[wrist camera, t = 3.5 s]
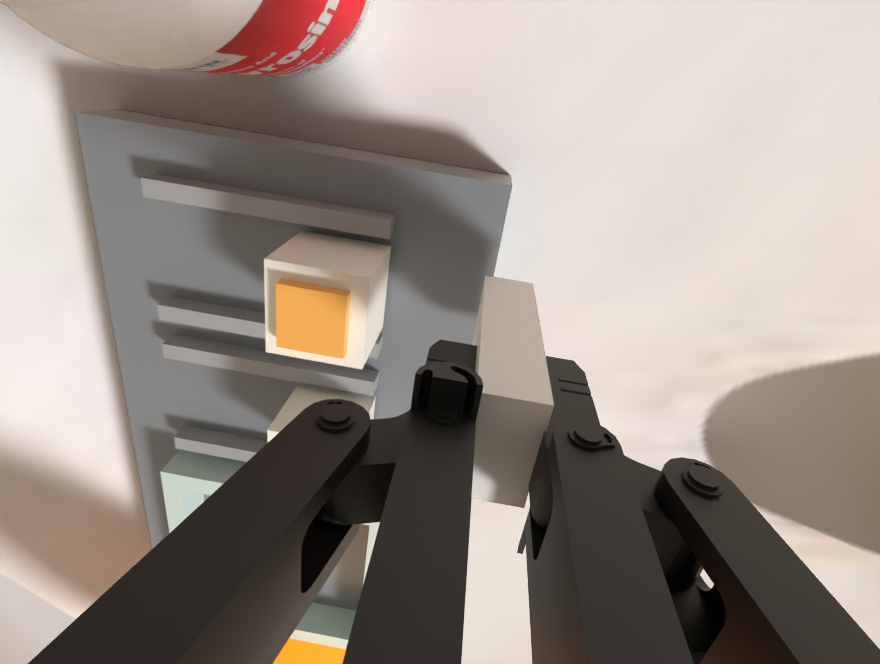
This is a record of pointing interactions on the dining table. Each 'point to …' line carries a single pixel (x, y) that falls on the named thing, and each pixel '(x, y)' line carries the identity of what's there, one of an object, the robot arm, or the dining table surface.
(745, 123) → the dining table surface
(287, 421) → the toggle plain
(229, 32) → the pill bottle
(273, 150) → the panel
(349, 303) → the block
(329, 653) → the orange juice
